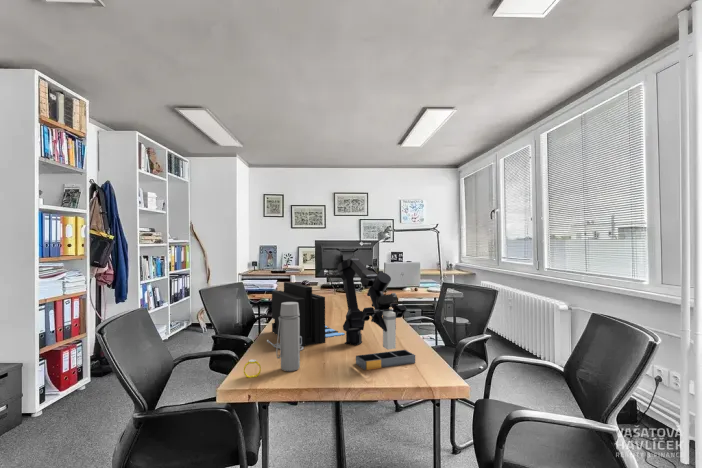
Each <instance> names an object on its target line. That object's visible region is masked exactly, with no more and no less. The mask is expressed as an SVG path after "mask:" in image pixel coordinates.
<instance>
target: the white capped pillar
mask: <svg viewBox="0 0 702 468" xmlns="http://www.w3.org/2000/svg"><path fill="white" fill-rule="evenodd" d="M382 318H383V320H384V323H385V325H386V328H387V332H385V331H384V330H383V329H382V347H383V348H384V349H386V350H395V349H396V348H397V347H396V346H397V345H396V344H397V343H396V342H397V341H396V337H397V336H396V330H397V324H396V323H397V321H396V320H397V318H396V313H395V312H392V311H384V312H383V315H382Z"/></svg>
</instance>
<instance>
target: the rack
mask: <svg viewBox="0 0 702 468" xmlns="http://www.w3.org/2000/svg"><path fill="white" fill-rule="evenodd" d="M415 363H416V354H415V353H412V352H411V351H408V350H407V349H399V350H393V351H392V350H391V351H383V352H382V351H381V352H375V353H374V352H373V353H366V354H359V355H355V365H357V366H358V367H359V368H360V369H362V370H364V371H369V370H371V371H372V370H375V369H376V370H377V369H382V368H389V367H395V366H403V365H409V364H415Z"/></svg>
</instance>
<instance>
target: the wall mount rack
mask: <svg viewBox="0 0 702 468" xmlns="http://www.w3.org/2000/svg"><path fill="white" fill-rule="evenodd" d="M300 338H301V344H300V345H302V337H301V336H300ZM266 342H267V343H268V344H270V345H272V346H273V348H275V349H276V348H277V343H275V344H274V343H272V342H271V341H270V340H269V339H267V340H266ZM278 349H279V350H280V342H278ZM278 349H277V350H278ZM302 350H304V346H300V351H302Z"/></svg>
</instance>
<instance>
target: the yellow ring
mask: <svg viewBox="0 0 702 468" xmlns="http://www.w3.org/2000/svg"><path fill="white" fill-rule="evenodd" d="M249 364H256V365H258V366H259V370H258V372H257V373H256V374H253V375H248V374H247V373H246V371H245V370H246V367H248V365H249ZM243 366H244V367H243V374H244V376H245V377H246V378H250V379H251V378H257V377H258V376H259V375H260V374H261V372H262V370H261V369H262V368H261V364H260V363H259V361H257V359H249V360H248V362H246V363H245V364H244V365H243Z"/></svg>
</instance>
